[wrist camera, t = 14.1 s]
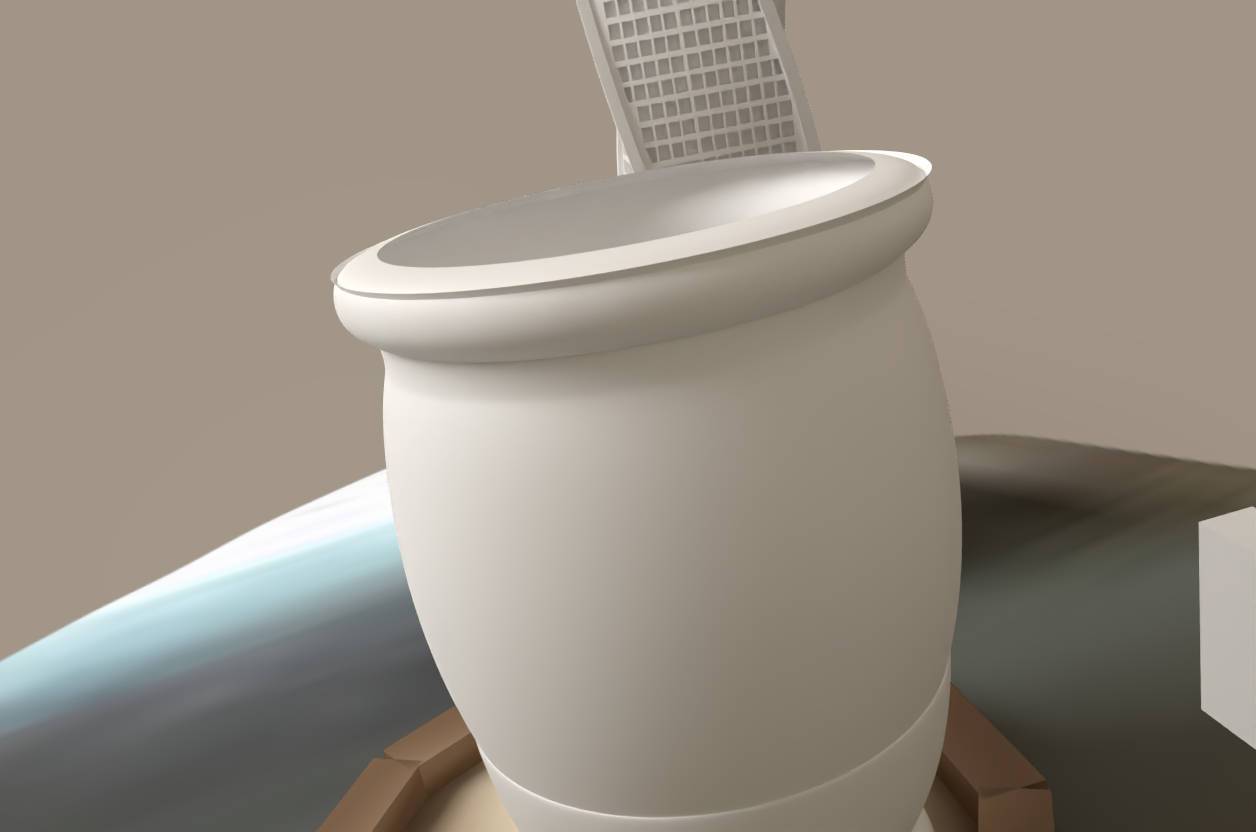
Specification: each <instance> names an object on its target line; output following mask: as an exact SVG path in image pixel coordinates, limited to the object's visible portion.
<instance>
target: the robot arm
mask: <svg viewBox="0 0 1256 832" xmlns="http://www.w3.org/2000/svg"><path fill="white" fill-rule="evenodd" d="M1199 575H1200V651H1201V709H1202V710H1203V711H1204V712H1206V713H1207V714H1208V715H1210V716H1211V717H1212V718H1214V719H1215V720H1216V721H1218V722H1219V723H1221V724H1222V725H1223V726H1225V727H1226V728H1227V729H1229V730H1230V731H1231V732H1233V733H1234V734H1235V735H1237V736H1238V737H1239V738H1241V739H1242V740H1243V741H1245V742H1246V743H1248V744H1249V745H1250V746H1252V747H1253V748H1254V749H1256V508H1254V507H1249V508H1246V509H1242V510H1239V511H1235V512H1232V513H1228V514H1225V515H1221V516H1218V517H1215V518H1211V519H1208V520H1204V521H1201V522H1199Z"/></svg>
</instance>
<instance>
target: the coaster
mask: <svg viewBox="0 0 1256 832" xmlns="http://www.w3.org/2000/svg"><path fill="white" fill-rule="evenodd" d="M383 754H384V757H385V759H377V758H373V760H372V761H371V762H370V764H369V765H368V766H367V767H366V769H365V770H364V771H363V773H362V774H361V775H360V776H359V778H358V779H357V780H356V781H355V783H354V784H353V785H352V787H351V788H350V789H349V790H348V792H347V793H346V794H345V796H344V797H343V798H342V799H341V801H340V802H339V803H338V805H337V806H336V807H335V808H334V810H333V811H332V812H331V814H330V815H329V816H328V817H327V819H326V820H325V821H324V822H323V824H322V825H321V826H320V828H319V829H318V830H317V831H316V832H520V831H519V830H518V828H517V826H516V825H515V823H514V822H513V820H512V818H511V817H510V815H509V813H508V811H507V810H506V808H505V806H504V804H503V802H502V801H501V799H500V797H499V795H498V793H497V791H496V789H495V787H494V785H493V782H492V780H491V778H490V776H489V774H488V772H487V769H486V767H485V765H484V762H483V760H482V757H481V755H480V752H479V749H478V746H477V743H476V740H475V738H474V737H473V735H472V733H471V732H470V730H469V728H468V727H467V725H466V723H465V721H464V720H463V718H462V716H461V714H460V712H459V710H458V708H457V707H456V706H454V707H452V708H451V709H449V710H447V711H446V712H444V713H443V714H441V715H439V716H438V717H436V718H434V719H433V720H431V721H430V722H428V723H426V724H425V725H423V726H422V727H420V728H418V729H417V730H415V731H413V732H412V733H410V734H409V735H407V736H405V737H404V738H402V739H401V740H399V741H397V742H396V743H394V744H392V745H391V746H389V747H388V748H386V749H384V750H383ZM924 809H925V811H926V813H927V815H928V817H929V819H930V821H931V823H932V826H933V829H934V832H1055V825H1054V814H1053V802H1052V790H1047V783H1046V779H1045V778H1044V777H1043V776H1042V775H1041V774H1040V773H1039V772H1038V771H1037V769H1036V768H1035V767H1034V766H1033V765H1032V764H1031V763H1030V762H1029V761H1028V760H1027V759H1026V758H1025V757H1024V756H1023V755H1022V754H1021V753H1020V752H1019V751H1018V750H1017V749H1016V748H1015V747H1014V746H1013V745H1012V744H1011V743H1010V742H1009V741H1008V740H1007V739H1006V738H1005V737H1004V736H1003V735H1002V734H1001V733H1000V732H999V731H998V730H997V729H996V728H995V727H994V725H993V724H992V723H991V722H990V721H989V720H988V719H987V718H986V717H985V716H984V715H983V714H982V713H981V712H980V711H979V710H978V709H977V708H976V707H975V706H974V705H973V704H972V703H971V702H970V701H969V700H968V699H967V698H966V697H965V696H964V695H963V694H962V693H961V692H960V691H959V690H958V689H957V688H956V687H955V686H954V685H953V684H952V683H951V682H950V697H949V708H948V716H947V724H946V731H945V737H944V742H943V747H942V752H941V756H940V760H939V764H938V768H937V771H936V774H935V778H934V781H933V784H932V786H931V789H930V792H929V795H928V797H927V800H926V802H925V804H924Z"/></svg>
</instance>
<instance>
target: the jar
mask: <svg viewBox="0 0 1256 832" xmlns="http://www.w3.org/2000/svg"><path fill="white" fill-rule="evenodd" d="M931 168H932V166H931V163H930V162H929V161H928V160H926V159H925V158H922V157H920V156H917V155H913V154H908V153H901V152H891V151H873V150H872V151H871V150H849V151H816V152H795V153H780V154H768V155H758V156H747V157H738V158H730V159H721V160H713V161H706V162H699V163H692V164H685V165H678V166H671V167H665V168H659V169H653V170H647V171H641V172H635V173H630V174H624V175H619V176H614V177H609V178H603V179H598V180H593V181H588V182H583V183H579V184H574V185H570V186H565V187H560V188H556V189H551V190H547V191H543V192H538V193H534V194H530V195H526V196H522V197H518V198H514V199H510V200H506V201H502V202H499V203H495V204H491V205H488V206H484V207H480V208H477V209H473V210H470V211H467V212H463V213H460V214H457V215H453V216H450V217H447V218H444V219H441V220H438V221H435V222H432V223H429V224H426V225H423V226H421V227H418V228H415V229H412V230H410V231H407V232H404V233H402V234H399V235H397V236H395V237H393V238H390V239H388V240H386V241H383V242H381V243H378V244H376V245H374V246H371V247H369V248H367V249H365V250H363V251H361V252H359V253H357V254H355V255H353V256H351V257H350V258H348V259H347V260H345V261H343V262H342V263H341V264H339V265H338V266H337V267H336V268H335V269H334V270H333V272H332V274H331V280H332V282H333V283H334V284H335V286H334V304H335V308H336V312H337V314H338V317H339V319H340V321H341V322H342V324H343V325H344V326H345V328H346V329H347V330H348V331H349V332H350V333H352V334H353V335H354V336H355V337H357V338H358V339H360V340H362V341H363V342H365V343H367V344H369V345H371V346H373V347H376V348H378V349H381V352H382V355H383V359H384V363H385V369H386V371H385V383H384V397H383V429H384V445H385V457H386V467H387V476H388V484H389V491H390V498H391V505H392V511H393V517H394V523H395V528H396V534H397V539H398V544H399V548H400V553H401V557H402V561H403V566H404V570H405V574H406V577H407V581H408V585H409V588H410V592H411V595H412V599H413V602H414V605H415V608H416V611H417V614H418V617H419V620H420V623H421V626H422V629H423V632H424V634H425V637H426V640H427V642H428V645H429V647H430V650H431V652H432V655H433V657H434V660H435V662H436V664H437V667H438V669H439V671H440V674H441V676H442V678H443V680H444V682H445V684H446V687H447V689H448V691H449V693H450V695H451V697H452V699H453V701H454V703H455V705H456V707H457V708H458V710H459V712H460V714H461V716H462V718H463V720H464V721H465V723H466V725H467V727H468V728H469V730H470V732H471V733H472V735H473V737H474V738H475V740H476V743H477V746H478V749H479V752H480V755H481V757H482V760H483V762H484V765H485V767H486V769H487V772H488V774H489V776H490V778H491V780H492V782H493V785H494V787H495V789H496V791H497V793H498V795H499V797H500V799H501V801H502V802H503V804H504V806H505V808H506V810H507V811H508V813H509V815H510V817H511V818H512V820H513V822H514V823H515V825H516V826H517V828H518V830H519V831H520V832H934V829H933V826H932V823H931V821H930V819H929V817H928V815H927V813H926V811H925V809H924V804H925V802H926V800H927V797H928V795H929V792H930V789H931V786H932V784H933V781H934V778H935V774H936V771H937V768H938V764H939V760H940V756H941V752H942V747H943V742H944V737H945V731H946V724H947V716H948V708H949V697H950V681H951V655H950V649H951V644H952V639H953V634H954V628H955V622H956V615H957V608H958V600H959V590H960V577H961V559H962V513H961V493H960V481H959V470H958V461H957V454H956V446H955V439H954V433H953V427H952V421H951V416H950V411H949V405H948V400H947V396H946V391H945V386H944V382H943V378H942V374H941V370H940V366H939V361H938V358H937V354H936V350H935V347H934V343H933V340H932V336H931V333H930V330H929V327H928V324H927V321H926V318H925V315H924V313H923V310H922V307H921V305H920V302H919V300H918V297H917V295H916V293H915V291H914V288H913V286H912V284H911V282H910V280H909V278H908V276H907V273H906V267H905V252H906V251H907V250H908V249H909V248H910V247H911V246H912V245H913V244H914V243H915V242H916V241H917V240H918V239H919V237H920V236H921V235H922V233H923V232H924V230H925V229H926V227H927V225H928V223H929V221H930V218H931V214H932V209H933V193H932V188H931V185H930V183H929V180H928V179H927V177H928V175H929V173H930V171H931Z"/></svg>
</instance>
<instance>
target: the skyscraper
mask: <svg viewBox="0 0 1256 832" xmlns="http://www.w3.org/2000/svg"><path fill="white" fill-rule="evenodd" d="M576 3H577V6H578V10H579V14H580V17H581V20H582V23H583V27H584V30H585V33H586V37H587V40H588V43H589V46H590V49H591V53H592V56H593V59H594V63H595V66H596V69H597V72H598V75H599V78H600V81H601V84H602V87H603V90H604V93H605V96H606V99H607V102H608V105H609V108H610V111H611V113H612V117H613V120H614V123H615V125H616V128H617V171H618V176H619V175H624V174H630V173H635V172H641V171H647V170H653V169H659V168H665V167H671V166H678V165H685V164H692V163H699V162H706V161H713V160H721V159H730V158H738V157H747V156H758V155H768V154H780V153H795V152H816V151H821V149H820V145H819V141H818V137H817V133H816V129H815V125H814V121H813V118H812V113H811V110H810V107H809V104H808V100H807V98H806V94H805V91H804V88H803V84H802V81H801V78H800V75H799V72H798V68H797V65H796V62H795V59H794V56H793V54H792V51H791V48H790V45H789V43H788V40H787V37H786V35H785V32H784V29H785V0H576Z"/></svg>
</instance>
